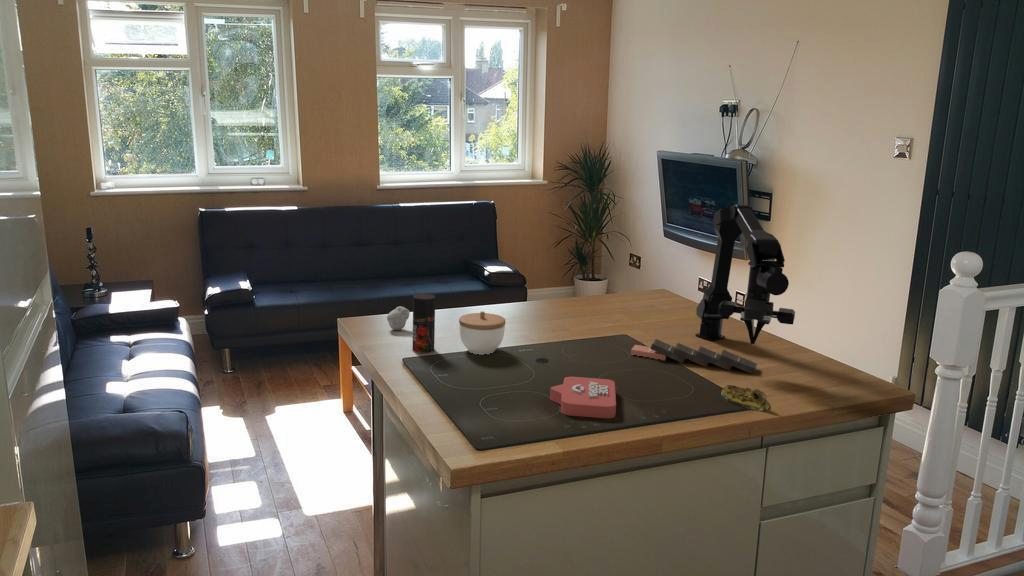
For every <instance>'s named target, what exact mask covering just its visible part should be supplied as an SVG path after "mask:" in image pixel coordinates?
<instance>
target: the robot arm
mask: <svg viewBox="0 0 1024 576" xmlns="http://www.w3.org/2000/svg"><path fill="white" fill-rule="evenodd" d="M712 219H713V220H712V221H713V230H714V232H715V234H716V236H717V242H716V249H715V256H714V263H713V269H712V274H711V283H710V285H709V286H708V287H707V288H706V289H705V290H704V291H703V295H702V296H703V297H702V299H701V300H700V302H699V303H698V305H697V307H696V311H695V313H696V316H697V317H698V318H700V319H701V322H700V326H699V332H698V333H695V337H698V338H701V339H704V340H705V339H706V340H709V341H712V342H714V341H718V340H723V339H726V335H722V328H723V321H724V320H730V319H729V318H730V317H731V316H733V315H734V314H740V318H739V320H740V321H741V322H744V324H745V325H746V328H747V332H748V337H749V341H750V344H751V345H755V343H756V341H757V339H758V337H759V335H760V332H761V331H762V330H763V327H764V326H765V325H770V324H771V320H772V319H776V320H777V322H778V323H779V324H784V325H794V321H795V316H796V311H795V310H794V308H793V309H792V308H785V307H779V309H778V310H774V304H775V303H774V302H772V301H770V299H771V295H773V296H781V295H783V294H784V293H785V292H786V291H787V290H788V288H789V285H790V284H789V283H790V282H789V279H788V276H787V275H786V274H785V273H783V268H785V262H786V260H785V257H784V254H783V253H784V252H783V250H782V247H781V246H782V245H781V244H780V241H779V240H778V238H777V237H776V236H774V235H773V234H772V233H769V232H767V231H765V229H764V227H762V225H761V223H760V221H759V220H758V218H757V216H756V215H755V213H754V212H753V207H752V206H751V205H749V204H733V205H731V206H729V207H725V208H720V209H718V210H717V211H716V212H715V213H714V215H713V218H712ZM742 234H743V236H744V238H745V239H746V241H747V245H746V248H745V250H746V253H747V257H748V259H749V261H748V263H747V264H748V265H749V273H748V282H747V289H746V290H747V291H746V298H745V300H744V306H740V305H737V304H738V303H737V301H733V296H732V295H731V293H730V291H729V290H728V289H729V288H728V286H729V281H730V274H731V267H732V262H733V255H734V249H735V245H736V244H735V242H736V241H737V240H738V238H739V237H740V236H741V235H742ZM755 321H757V322H756V327H755ZM754 327H755V328H754Z"/></svg>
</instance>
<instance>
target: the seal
mask: <svg viewBox="0 0 1024 576" xmlns="http://www.w3.org/2000/svg"><path fill="white" fill-rule="evenodd" d="M721 395H722V396H723V397H724V398H725V399H727V400H729V401H730V402H733V403H735V404H737V405H740V406H743V407H745V408H744V409H746V408H747V409H748V410H752V411H757V412H766V411H768V409H769V408H770V404H769V401H768V400H767V395H766V393H765V392H764V391H761V390H759V389H758V388H754V389H751V388H750V387H739V386H737V385H733V384H725V385H724V387H723V388H722V389H721V392H720V396H721ZM722 396H721V397H722ZM723 397H722V398H723ZM724 398H723V399H724ZM725 399H724V400H725ZM727 400H726V401H727ZM730 402H729V403H730ZM733 403H732V404H733ZM735 404H734V405H735ZM737 405H736V406H737ZM740 406H739V407H740ZM743 407H742V408H743ZM747 409H746V410H747Z"/></svg>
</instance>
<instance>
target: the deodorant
mask: <svg viewBox="0 0 1024 576" xmlns="http://www.w3.org/2000/svg"><path fill="white" fill-rule="evenodd" d="M412 297H413V298H412V352H415V353H418V354H429V353H433V352H434V351H435V334H436V332H435V331H436V330H435V325H436V324H435V323H436V295H434V294H431V293H418V294H417V293H416V294H414V295H412Z"/></svg>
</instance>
